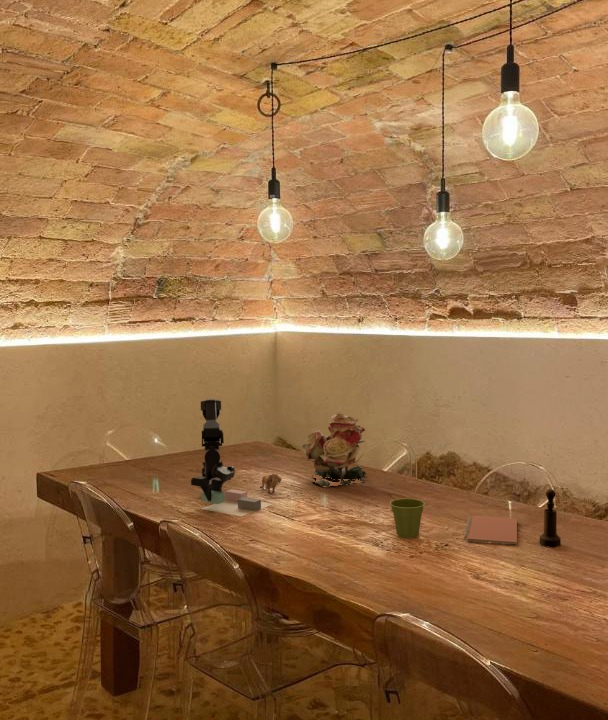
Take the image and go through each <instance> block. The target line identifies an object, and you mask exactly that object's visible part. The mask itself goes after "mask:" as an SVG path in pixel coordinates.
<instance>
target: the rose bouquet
mask: <svg viewBox="0 0 608 720" xmlns="http://www.w3.org/2000/svg"><path fill="white" fill-rule="evenodd" d="M330 418H331V419H332V421H330V422H328V424H329V425H328V426H327V429H328V430H329V432H330V435H325V434H323V433H322V432H321V430H320V429H319V430H316V431H313V432H312V433H310V434H308V436H307V439H304V441H305V442H306V443H304V444H302V449H303V450H305V452H304V455H305V457H307V458H306V460H307V461H309V460H312V463H313V467H314V469H315V471H314V473H313V474H315V475H319V476H322V477H327V478H328V477H330V479H331V478H332V479H341V482H340V484H342V485H345V486H347V485H346V484H350V483H351V482H349V481H350V480H349V481H344V480H343V479H355V480H356V479H358V478H360V481H364V482H365V476H364V475H366V476H367V473H366V471H365V470H364V468H363V467H361V464H360V465H357V466H354V467H352V468H348V467H349V466H351V465H354V464H355V463H356V458H357V455H358V453H359V451H360V445H359V444H364V443H365V442H366V440H362V438H363V435H362V433H364V432H365V431H366V428H364V427H362V426H360V425H356V423H357V422H358V421H359V419H358V418H356V419H355V418H354V417H352V416H348V415H346V414H343V413H341V412H339V413H335V414H333V415H332V416H331V417H330ZM363 474H364V475H363ZM322 479H323V478H322ZM322 479H319V480H320V481H318V482H315V483H314V484H318V485H319V486H320V487H321V486H329V485H330V483H329V482H328V481H324V480H322Z"/></svg>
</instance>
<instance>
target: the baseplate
mask: <svg viewBox="0 0 608 720" xmlns="http://www.w3.org/2000/svg"><path fill="white" fill-rule="evenodd" d="M272 505H273V503H270V502H263V501H262V500H261V499H257V498H253V497H248V496H247V497H243V498H240V499H238V502H234V501H229V500H225V502H222V503H219V504H215V503H211V504H210V505H206V506H204V507H202V508H200V509H201V510H204V511H209V512H210V511H211V512H215V513H221V514H227V515H231V516H236V517H244V516H246V515H248V514H251V513H254V512H256V511H259V510H262V509H264V508H266V507H269V506H272Z"/></svg>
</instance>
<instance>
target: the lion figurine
mask: <svg viewBox="0 0 608 720" xmlns="http://www.w3.org/2000/svg"><path fill="white" fill-rule="evenodd" d="M282 481H283V478H281V477H280V476H279V474H278V473H272V474H271V475H266V474H264V475H263V476H262V478H261V484H262V485H260V486H259V489H261V491H262V492H263V491H265V490H266V489H268V490H267V494H268V495H270V494H271V493H275V490H276V489H275V488H276V487H277V486H278V485H279V484H281V482H282ZM264 488H265V489H264ZM271 489H272V490H271ZM271 491H272V492H271Z"/></svg>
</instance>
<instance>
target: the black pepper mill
mask: <svg viewBox="0 0 608 720" xmlns="http://www.w3.org/2000/svg"><path fill="white" fill-rule="evenodd" d="M545 496H546V498H547V502H546V507H547V508H544V509H543V533H541V534H540V536H539V545H540V544H541V546H542V545H544V546H543V547H546V546H550V547H549V548H557V547H556V546H558V547H560V546H561V536H559V535H558V534H557V531H558V530H557V516H558V515H557V514H558V513H557V509H554V507H555V503H554V498H555V497H556V491H555V490H554V489H551V488H549V489H546V491H545ZM559 545H560V546H559Z"/></svg>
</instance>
